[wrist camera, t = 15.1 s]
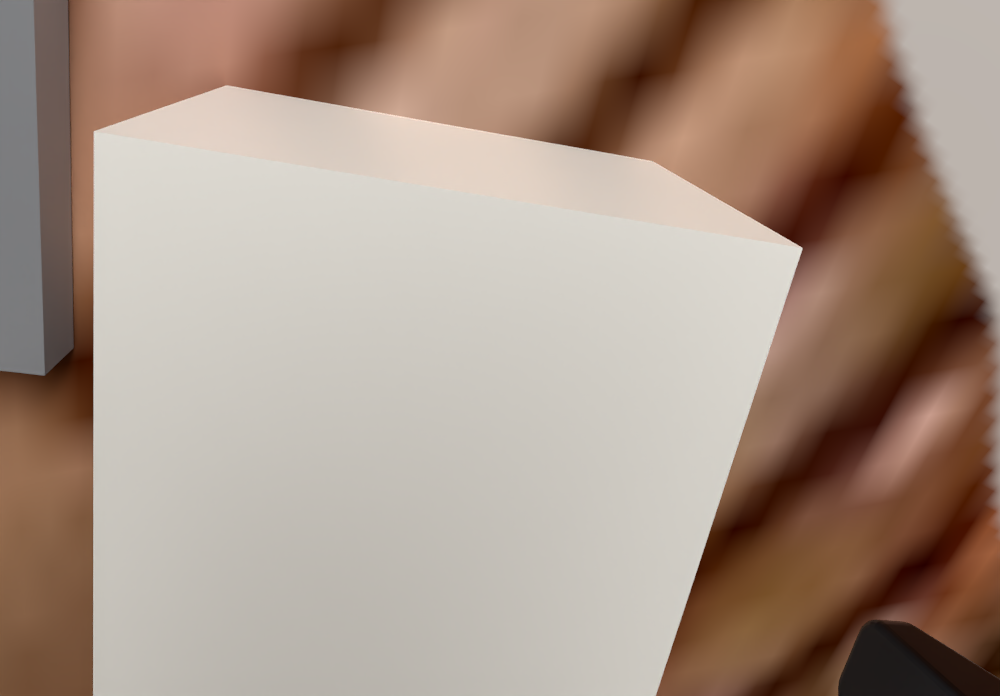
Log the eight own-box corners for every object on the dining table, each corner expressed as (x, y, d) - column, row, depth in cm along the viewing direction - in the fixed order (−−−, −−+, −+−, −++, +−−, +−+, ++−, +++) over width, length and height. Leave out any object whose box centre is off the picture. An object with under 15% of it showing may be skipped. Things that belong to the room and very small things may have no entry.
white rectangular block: (541, 597, 15) (601, 862, 10) (200, 568, 14) (93, 847, 9) (649, 159, 12) (802, 247, 7) (228, 84, 11) (93, 131, 6)
